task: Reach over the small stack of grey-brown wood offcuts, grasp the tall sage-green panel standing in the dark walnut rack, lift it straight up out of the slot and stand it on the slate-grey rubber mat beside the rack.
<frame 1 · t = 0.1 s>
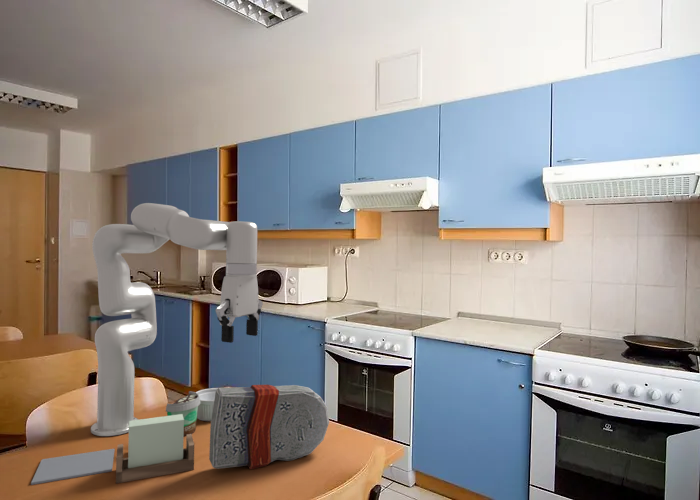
hand: (240, 338, 113), 31 cm above the table, tool pointing down, fingers open, 9 cm apart
food container: (187, 433, 130), on the table
rack: (155, 469, 108), on the table
upper offcut: (154, 442, 119), point 2 cm above the table, touching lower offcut
ramekin: (213, 416, 144), on the table
sheet: (155, 469, 108), resting in rack
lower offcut: (154, 452, 118), on the table, touching upper offcut
decorative stone tablet: (271, 461, 114), on the table
mat: (76, 466, 109), on the table
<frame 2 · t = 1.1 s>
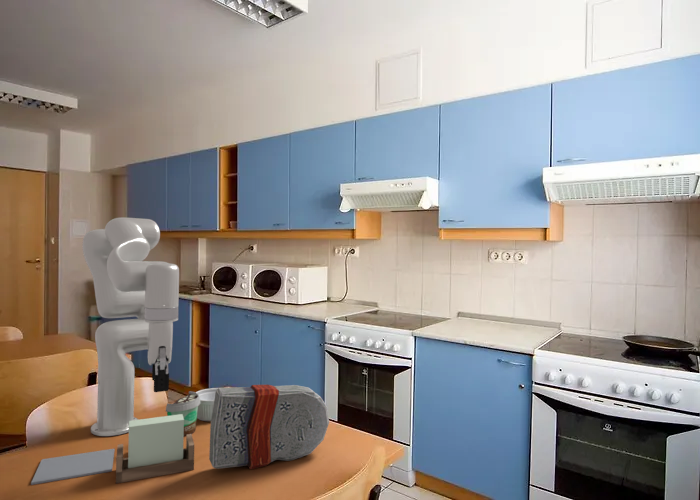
hand: (160, 385, 109), 20 cm above the table, tool pointing down, fingers open, 9 cm apart
nothing on the table moved.
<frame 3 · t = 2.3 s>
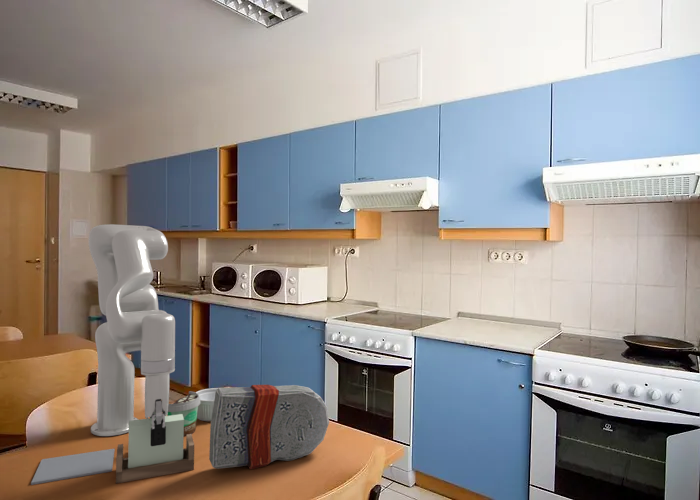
hand: (157, 437, 108), 8 cm above the table, tool pointing down, fingers open, 9 cm apart
nothing on the table moved.
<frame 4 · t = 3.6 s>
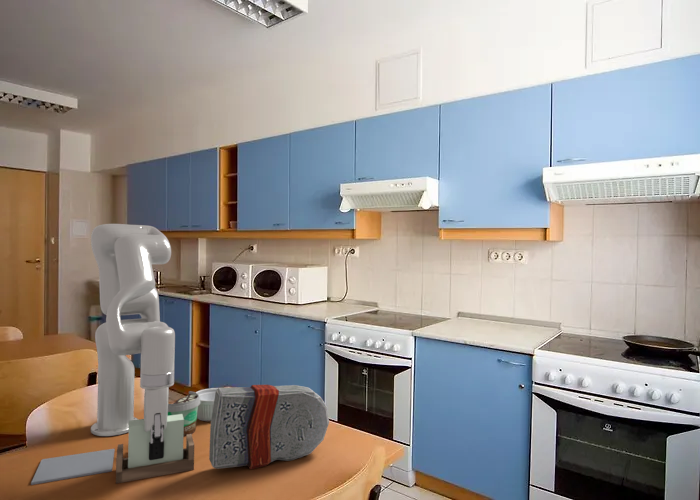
hand: (155, 453, 108), 4 cm above the table, tool pointing down, fingers closed on sheet, 4 cm apart
sheet: (155, 469, 108), resting in rack, touching gripper
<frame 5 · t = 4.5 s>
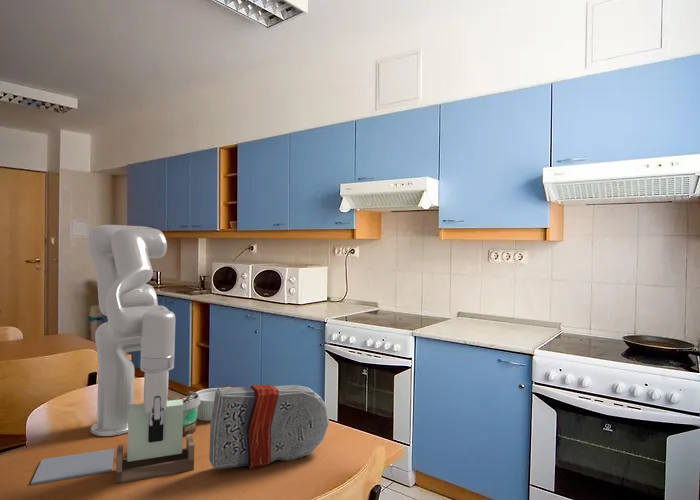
hand: (155, 436, 109), 8 cm above the table, tool pointing down, fingers closed on sheet, 4 cm apart
sheet: (154, 453, 109), point 4 cm above the table, touching gripper
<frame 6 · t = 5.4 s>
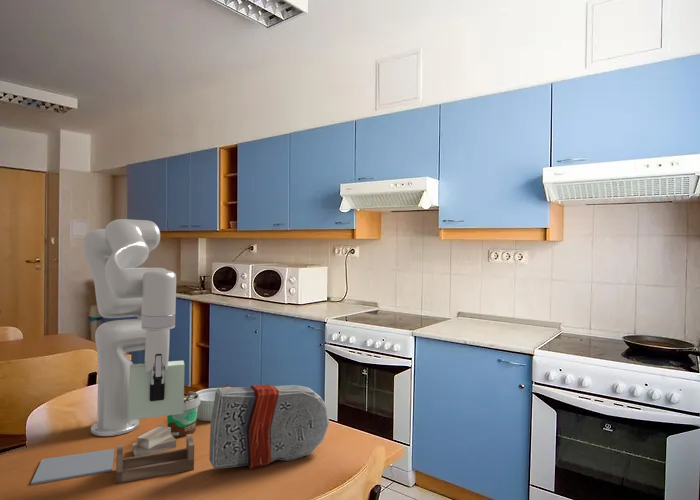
hand: (156, 396, 109), 18 cm above the table, tool pointing down, fingers closed on sheet, 4 cm apart
sheet: (156, 413, 109), point 13 cm above the table, touching gripper
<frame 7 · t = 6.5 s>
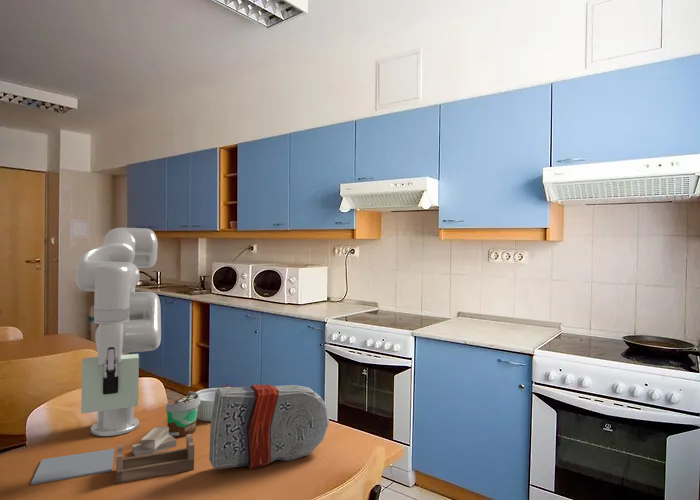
hand: (110, 389, 109), 19 cm above the table, tool pointing down, fingers closed on sheet, 4 cm apart
sheet: (110, 406, 109), point 15 cm above the table, touching gripper
when the fingers open (5 cm above the table, at t = 10.1 s): sheet stays where it is, resting on mat.
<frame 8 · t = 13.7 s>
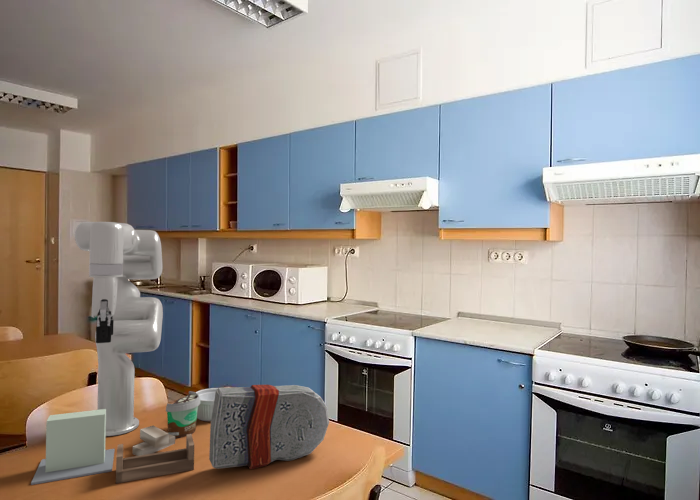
hand: (104, 338, 113), 30 cm above the table, tool pointing down, fingers open, 9 cm apart
sheet: (76, 464, 109), resting on mat
at the end: sheet inside the target area on the mat (0.1 cm from its centre), point 0.5 cm above the mat's base; sheet tilted 0°; the gripper is holding nothing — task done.
